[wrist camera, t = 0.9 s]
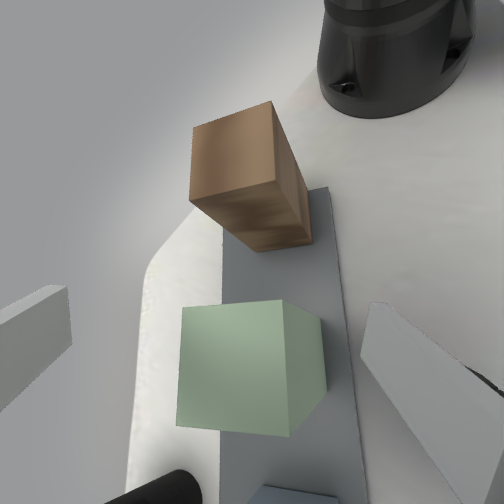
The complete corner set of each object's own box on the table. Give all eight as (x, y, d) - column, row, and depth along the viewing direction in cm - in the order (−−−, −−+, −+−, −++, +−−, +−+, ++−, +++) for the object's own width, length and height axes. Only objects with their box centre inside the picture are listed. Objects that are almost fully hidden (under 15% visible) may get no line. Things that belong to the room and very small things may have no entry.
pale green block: (320, 317, 25) (282, 299, 14) (327, 392, 23) (289, 437, 12) (257, 321, 27) (182, 307, 16) (258, 390, 25) (175, 425, 14)
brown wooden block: (307, 189, 29) (271, 100, 18) (313, 243, 27) (275, 179, 16) (254, 201, 31) (193, 127, 20) (255, 252, 29) (188, 200, 18)
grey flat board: (329, 193, 30) (327, 186, 28) (379, 595, 19) (380, 614, 18) (229, 214, 34) (223, 209, 32) (227, 553, 24) (218, 566, 22)
